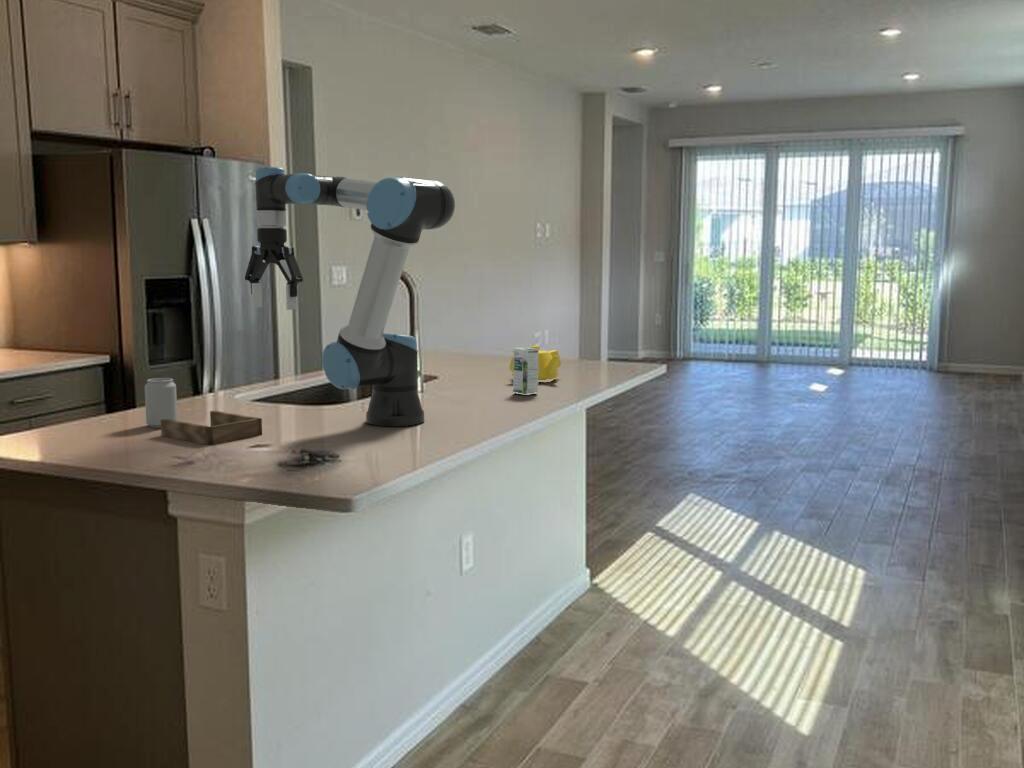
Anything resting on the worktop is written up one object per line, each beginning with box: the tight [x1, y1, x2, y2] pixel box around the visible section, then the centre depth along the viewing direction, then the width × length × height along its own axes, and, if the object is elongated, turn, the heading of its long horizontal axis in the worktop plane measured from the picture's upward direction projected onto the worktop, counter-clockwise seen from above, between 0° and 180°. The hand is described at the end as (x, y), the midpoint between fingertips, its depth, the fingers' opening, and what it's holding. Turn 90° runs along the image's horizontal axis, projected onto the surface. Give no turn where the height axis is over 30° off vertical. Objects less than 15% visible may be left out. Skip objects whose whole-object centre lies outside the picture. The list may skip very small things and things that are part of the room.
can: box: [144, 377, 179, 429], centre depth 244 cm, size 8×8×12 cm
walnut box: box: [160, 410, 263, 446], centre depth 233 cm, size 18×15×4 cm
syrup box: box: [512, 346, 539, 394], centre depth 298 cm, size 6×6×14 cm
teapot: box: [508, 345, 562, 380], centre depth 329 cm, size 17×17×12 cm
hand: (274, 308), depth 257 cm, fingers open, 13 cm apart
